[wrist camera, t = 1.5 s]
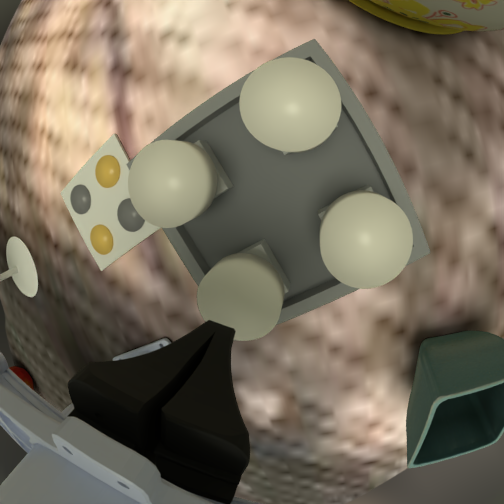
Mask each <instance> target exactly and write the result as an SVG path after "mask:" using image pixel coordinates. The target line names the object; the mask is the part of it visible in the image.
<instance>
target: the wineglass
mask: <svg viewBox="0 0 504 504" xmlns="http://www.w3.org/2000/svg"><path fill="white" fill-rule="evenodd" d="M6 256H7V263H8V267H9V270H8V271H6V272H4V273H2V274H0V282H1V281H3V280H4V279H6V278H8V277H10V276H12V278H13V280H14V282H15V284H16V285H17V287H18V288H19V289H20V290H21V292H22V293H23V294H25V295H26V296H28V297H33V296H35V295H36V293H37V291H38V278H37V272H36V268H35V264H34V262H33V259H32V257H31V254H30V252H29V250H28V249H27V247H26V245H25V244H24V243H23V242H22V241H21V239H19V238H17V237H11V238H10V239H9V240H8V243H7V248H6Z"/></svg>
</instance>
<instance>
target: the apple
mask: <svg viewBox="0 0 504 504" xmlns="http://www.w3.org/2000/svg"><path fill="white" fill-rule="evenodd" d="M9 369H10V370H11V371H12V372H14V373H15V374H16V375H17V376H18V377H19V378H20V379H21V380H22V381H23V382H24V383H26V384H27V385H28V386H29V387H30V388H31V389H32V390H34V388H33V380H32V378H31V376H30V375H29V374H28V372H27V371H26V370H25V369H23V368H20V367H16V366H13V367H10V368H9Z"/></svg>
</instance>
